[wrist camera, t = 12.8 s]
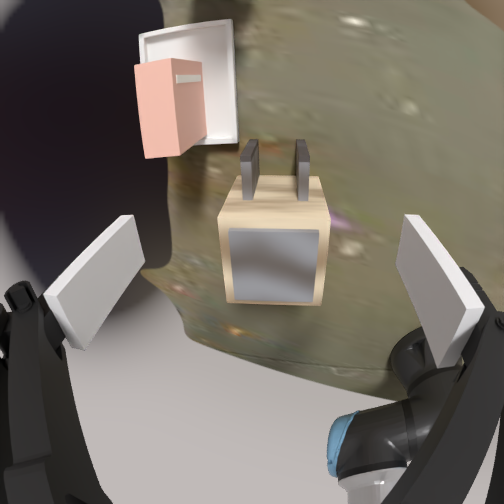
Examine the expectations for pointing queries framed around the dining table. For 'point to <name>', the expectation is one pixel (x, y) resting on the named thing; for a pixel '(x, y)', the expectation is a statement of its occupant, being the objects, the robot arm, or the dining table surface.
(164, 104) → the tall salmon pink block
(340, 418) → the robot arm
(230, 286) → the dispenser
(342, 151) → the dining table surface
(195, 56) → the tray
